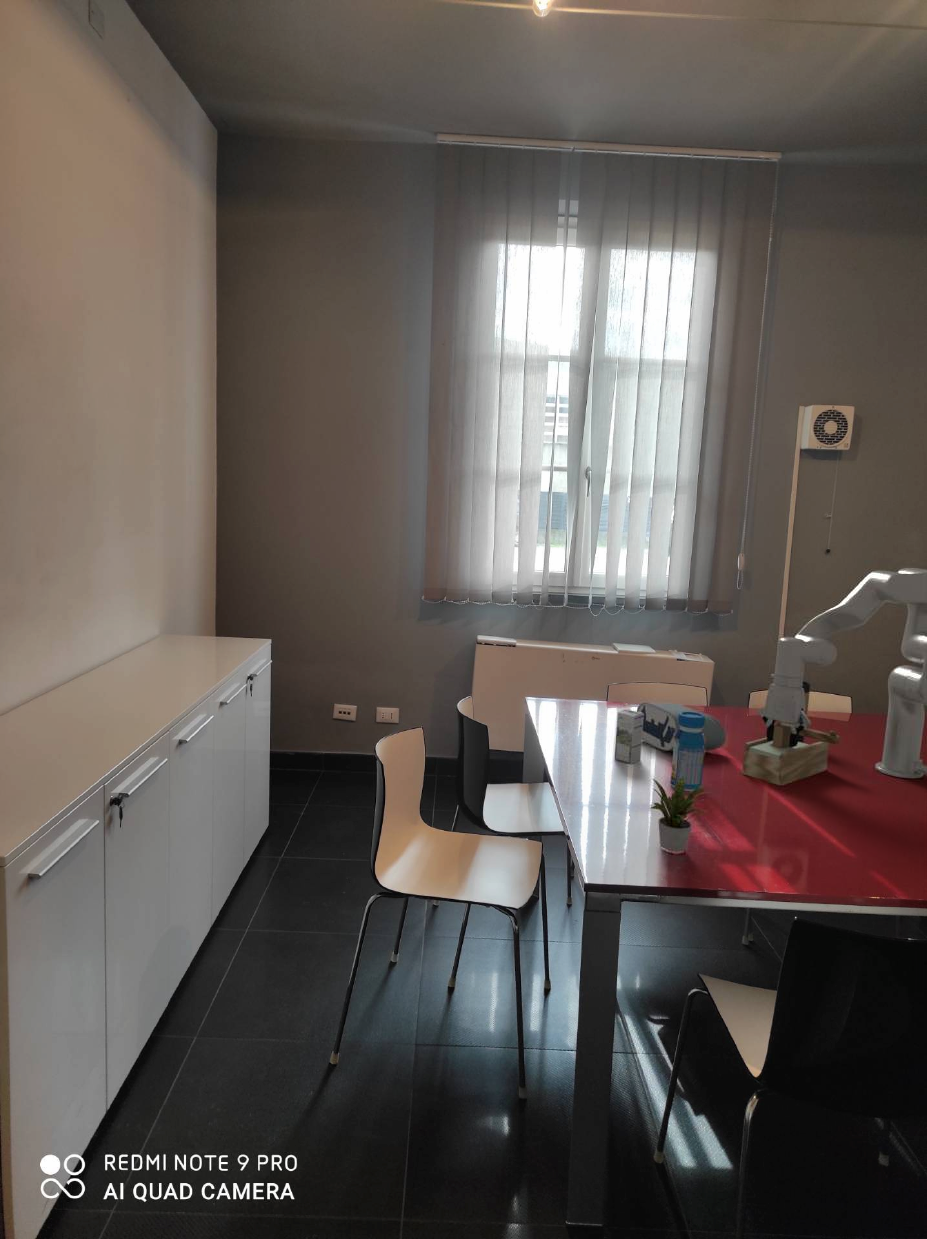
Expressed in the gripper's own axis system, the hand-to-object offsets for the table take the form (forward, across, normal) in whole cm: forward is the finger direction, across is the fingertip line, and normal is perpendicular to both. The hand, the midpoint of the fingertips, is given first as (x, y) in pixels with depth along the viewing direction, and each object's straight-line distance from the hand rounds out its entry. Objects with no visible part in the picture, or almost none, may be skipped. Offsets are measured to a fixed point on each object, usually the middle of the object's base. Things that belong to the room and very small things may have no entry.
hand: (781, 742), depth 243 cm
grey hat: (+10, -33, -2) cm, 34 cm away
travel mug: (+9, -15, +34) cm, 38 cm away
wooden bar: (0, 0, +14) cm, 14 cm away
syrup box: (+9, -32, -28) cm, 44 cm away
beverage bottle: (+9, -8, -33) cm, 35 cm away
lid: (+2, 0, 0) cm, 2 cm away
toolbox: (+9, 0, +4) cm, 10 cm away
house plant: (+9, +17, -71) cm, 74 cm away
